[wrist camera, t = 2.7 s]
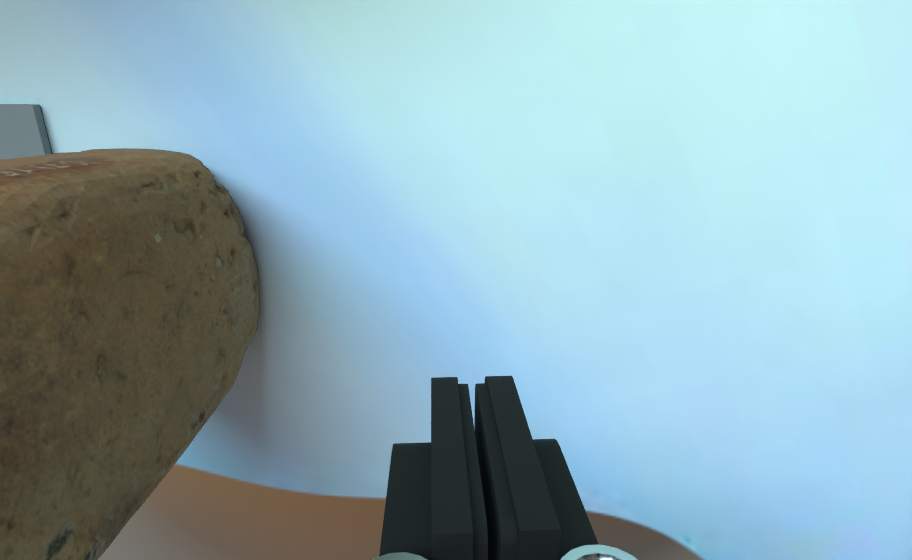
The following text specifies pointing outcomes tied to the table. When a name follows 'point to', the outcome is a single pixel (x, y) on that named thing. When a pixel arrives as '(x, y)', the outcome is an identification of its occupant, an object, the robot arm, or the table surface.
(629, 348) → the table surface
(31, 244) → the block
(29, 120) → the mat
